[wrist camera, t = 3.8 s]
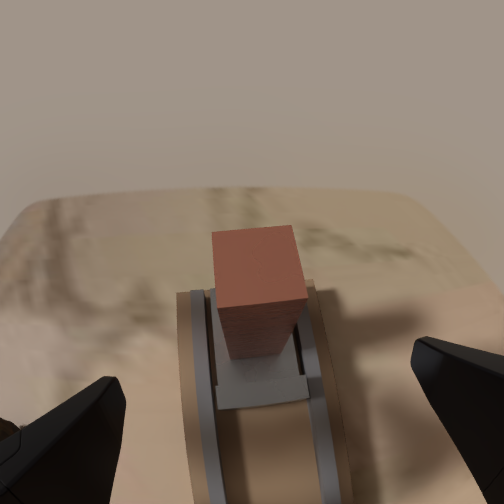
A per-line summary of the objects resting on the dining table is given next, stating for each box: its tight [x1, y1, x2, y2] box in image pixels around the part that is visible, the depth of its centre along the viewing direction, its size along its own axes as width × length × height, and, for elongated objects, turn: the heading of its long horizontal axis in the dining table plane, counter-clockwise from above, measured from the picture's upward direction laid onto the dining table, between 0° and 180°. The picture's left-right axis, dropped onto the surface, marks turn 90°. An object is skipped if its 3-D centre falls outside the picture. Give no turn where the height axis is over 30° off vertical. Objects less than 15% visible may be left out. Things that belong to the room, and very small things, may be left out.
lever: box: [210, 225, 310, 411], centre depth 13 cm, size 7×4×9 cm, turn 7°
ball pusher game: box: [176, 279, 354, 504], centre depth 13 cm, size 20×9×5 cm, turn 7°
